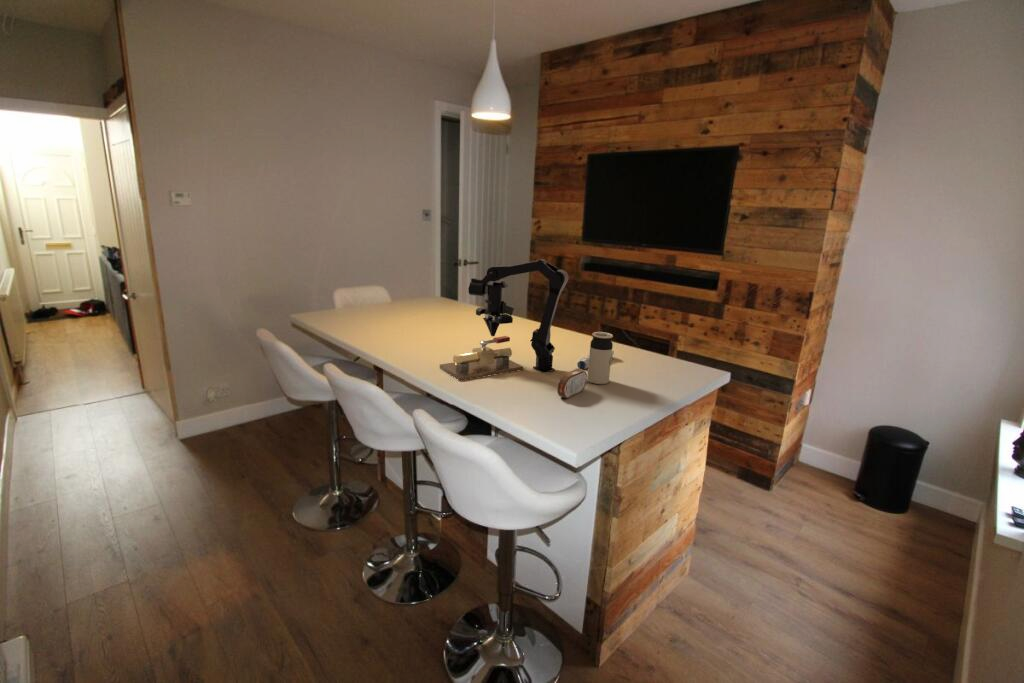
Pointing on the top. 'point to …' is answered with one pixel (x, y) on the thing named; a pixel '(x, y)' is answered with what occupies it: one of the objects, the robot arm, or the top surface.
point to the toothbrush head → (587, 362)
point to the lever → (496, 340)
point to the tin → (572, 383)
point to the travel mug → (600, 358)
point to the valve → (481, 363)
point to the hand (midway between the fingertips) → (492, 336)
